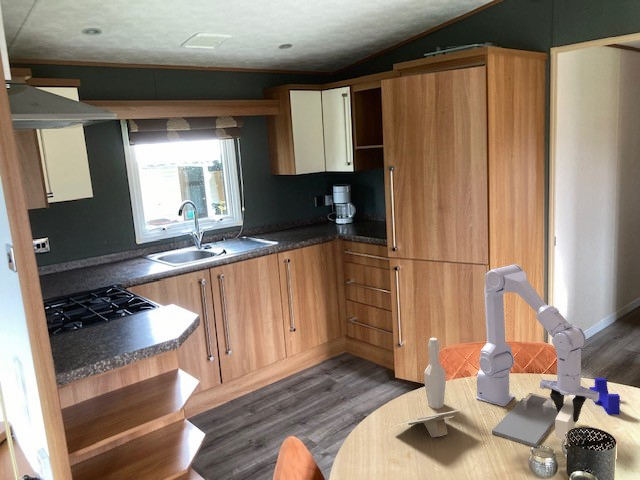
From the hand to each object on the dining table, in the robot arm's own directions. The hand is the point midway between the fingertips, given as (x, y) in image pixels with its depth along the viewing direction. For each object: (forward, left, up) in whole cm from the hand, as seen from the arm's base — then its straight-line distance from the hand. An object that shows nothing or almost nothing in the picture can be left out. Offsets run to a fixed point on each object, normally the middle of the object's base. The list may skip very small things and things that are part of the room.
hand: (568, 418), depth 143 cm
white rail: (0, 0, -2) cm, 2 cm away
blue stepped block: (+3, +22, -5) cm, 23 cm away
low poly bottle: (-38, -5, -5) cm, 39 cm away
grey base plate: (-11, 0, -5) cm, 12 cm away
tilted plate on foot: (-32, -20, -5) cm, 38 cm away
